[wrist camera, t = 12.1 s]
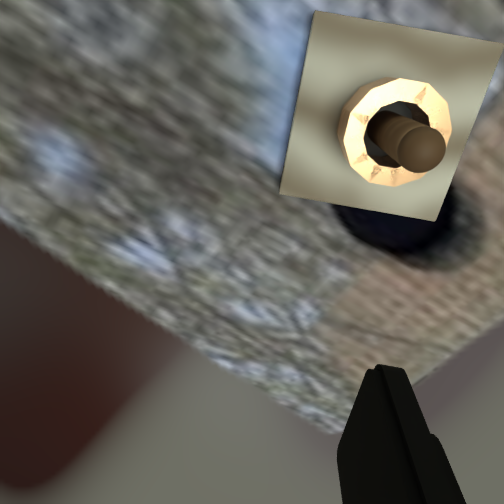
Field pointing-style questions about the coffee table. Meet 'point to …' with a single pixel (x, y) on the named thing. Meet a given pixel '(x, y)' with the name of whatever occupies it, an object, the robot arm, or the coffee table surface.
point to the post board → (361, 66)
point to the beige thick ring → (367, 104)
